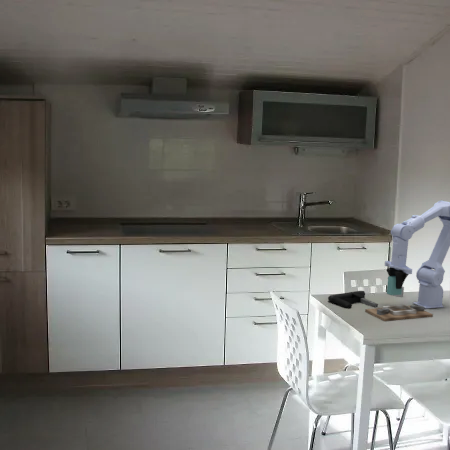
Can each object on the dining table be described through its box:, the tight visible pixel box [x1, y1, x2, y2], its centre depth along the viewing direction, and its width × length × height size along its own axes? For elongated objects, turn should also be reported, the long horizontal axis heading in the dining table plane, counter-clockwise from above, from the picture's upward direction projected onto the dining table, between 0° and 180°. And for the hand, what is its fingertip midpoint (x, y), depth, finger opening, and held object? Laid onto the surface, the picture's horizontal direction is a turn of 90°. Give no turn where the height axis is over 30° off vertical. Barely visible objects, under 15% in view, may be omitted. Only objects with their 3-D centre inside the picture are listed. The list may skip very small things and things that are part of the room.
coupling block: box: [386, 275, 402, 296], centre depth 238 cm, size 3×5×7 cm, turn 112°
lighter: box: [392, 286, 405, 298], centre depth 261 cm, size 7×2×8 cm, turn 60°
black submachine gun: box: [327, 290, 379, 309], centre depth 246 cm, size 3×20×16 cm
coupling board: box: [364, 304, 434, 322], centre depth 233 cm, size 23×12×3 cm, turn 113°
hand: (395, 287), depth 239 cm, fingers closed on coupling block, 3 cm apart
